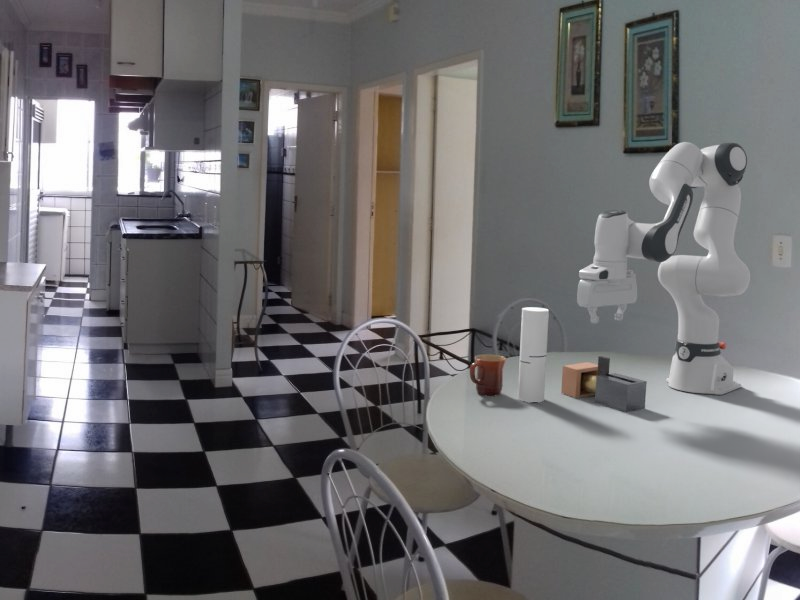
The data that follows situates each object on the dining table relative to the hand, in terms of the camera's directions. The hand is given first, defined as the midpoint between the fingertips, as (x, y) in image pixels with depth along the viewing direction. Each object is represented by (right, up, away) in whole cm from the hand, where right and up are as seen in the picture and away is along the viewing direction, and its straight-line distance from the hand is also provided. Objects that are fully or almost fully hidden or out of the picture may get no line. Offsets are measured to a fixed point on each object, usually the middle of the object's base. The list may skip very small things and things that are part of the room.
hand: (606, 321), depth 218 cm
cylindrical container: (-20, -22, +2) cm, 30 cm away
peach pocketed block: (-5, -21, +9) cm, 23 cm away
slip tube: (-2, -20, +5) cm, 21 cm away
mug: (-32, -21, +6) cm, 39 cm away
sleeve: (+3, -23, -2) cm, 23 cm away
